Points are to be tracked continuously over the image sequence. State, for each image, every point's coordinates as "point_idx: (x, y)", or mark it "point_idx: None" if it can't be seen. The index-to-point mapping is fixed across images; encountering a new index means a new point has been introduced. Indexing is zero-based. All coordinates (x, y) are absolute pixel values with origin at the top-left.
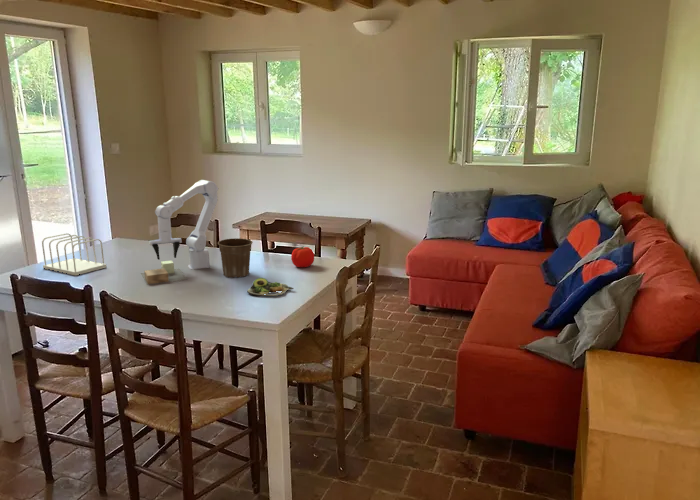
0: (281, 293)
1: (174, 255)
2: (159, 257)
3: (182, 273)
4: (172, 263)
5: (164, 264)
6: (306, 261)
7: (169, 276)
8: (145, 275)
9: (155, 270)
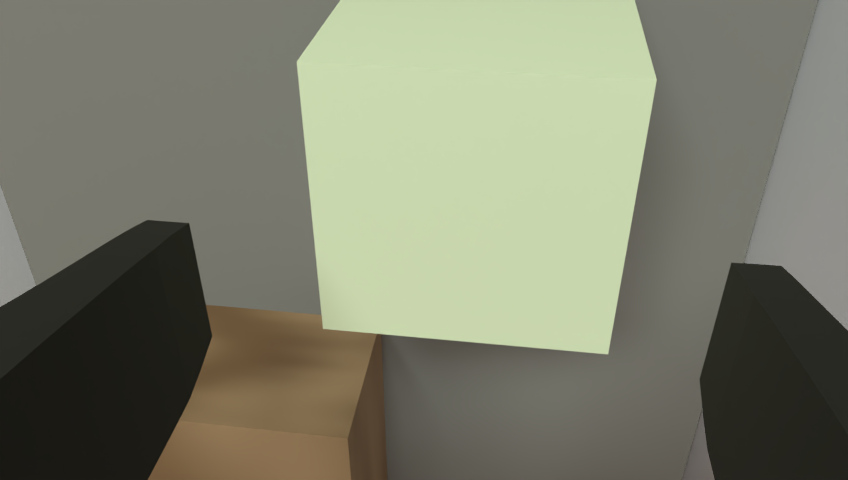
0: None
1: (720, 428)
2: (185, 405)
3: None
4: (575, 344)
5: (367, 320)
6: None
7: (450, 355)
8: None
9: (173, 476)
